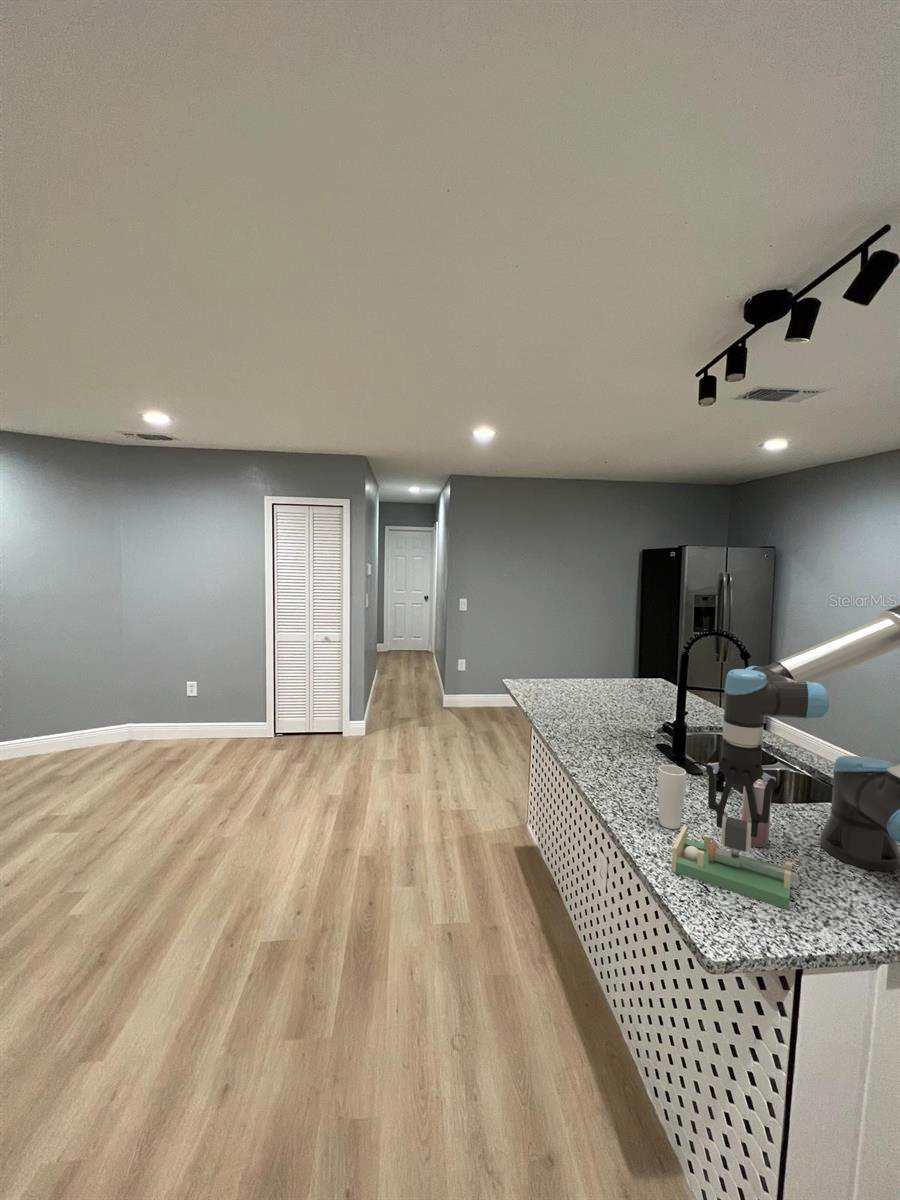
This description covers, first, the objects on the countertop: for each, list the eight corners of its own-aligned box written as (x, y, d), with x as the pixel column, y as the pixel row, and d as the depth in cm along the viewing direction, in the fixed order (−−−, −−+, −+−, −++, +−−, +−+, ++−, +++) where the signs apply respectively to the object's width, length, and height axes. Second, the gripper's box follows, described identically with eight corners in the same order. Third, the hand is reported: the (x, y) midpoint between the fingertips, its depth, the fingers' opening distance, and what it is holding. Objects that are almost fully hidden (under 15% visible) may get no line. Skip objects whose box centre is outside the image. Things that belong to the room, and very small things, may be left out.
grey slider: (797, 877, 110) (800, 835, 109) (797, 888, 106) (800, 844, 105) (711, 851, 119) (713, 812, 118) (708, 860, 116) (710, 820, 115)
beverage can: (743, 832, 134) (746, 775, 132) (769, 840, 130) (773, 782, 129) (738, 842, 129) (741, 783, 128) (765, 850, 125) (769, 790, 124)
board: (790, 880, 114) (792, 855, 113) (788, 909, 104) (790, 883, 104) (682, 847, 126) (683, 825, 126) (671, 871, 116) (672, 847, 116)
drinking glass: (667, 833, 133) (669, 776, 132) (650, 820, 139) (652, 765, 138) (689, 829, 135) (692, 773, 133) (671, 817, 141) (674, 763, 140)
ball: (683, 852, 122) (698, 861, 120) (680, 859, 119) (695, 868, 118) (689, 840, 121) (704, 849, 120) (686, 846, 118) (702, 856, 117)
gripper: (789, 745, 111) (782, 850, 112) (701, 729, 120) (696, 826, 122) (788, 756, 104) (781, 867, 106) (695, 738, 114) (690, 840, 116)
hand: (735, 845), depth 114 cm, fingers closed on grey slider, 4 cm apart
